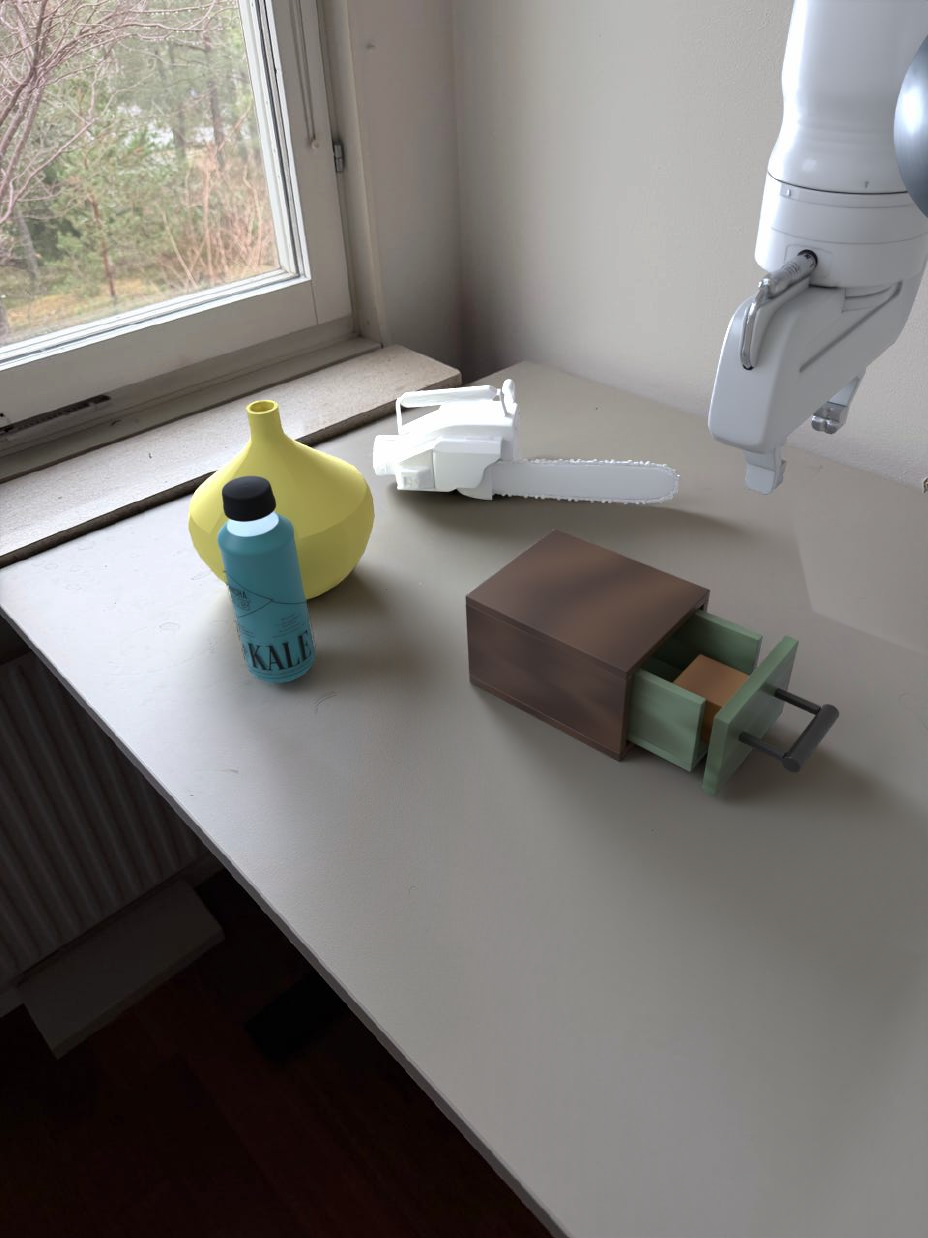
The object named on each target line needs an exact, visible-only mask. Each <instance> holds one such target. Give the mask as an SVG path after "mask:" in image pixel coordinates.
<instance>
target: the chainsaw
mask: <svg viewBox="0 0 928 1238" xmlns="http://www.w3.org/2000/svg"><path fill="white" fill-rule="evenodd" d="M503 394H504V395H503ZM497 396H498V398H499V400H494V399H495V398H496V397H497ZM401 406H402V407H404V408H417V407H428V406H429V407H431V406H440V407H439V409H438V410H435V411H433V412H431V413H428V414H425V415H423V416H422V417H419V418H417V419H415V420H412V421H410V422H408V423H406V424H404V425H403V423H402V412H401V411H402V410H401ZM395 412H396V421H397V432H398V435H381V434H379V435H377V436H376V437H375V440H374V444H373V449H372V463H373V470H374V474H375V475H376V476H384V477H385V476H395V481H396V483H397V486H396V490H398V491H419V492H420V491H422V492H446V493H450V492H452V491H454V490H457V491H458V493H460V494H462V495H463V496H465V497H469V498H472V499H477V500H478V499H479V500H485V501H493V496H495V494H497V495H501V496H502V497H505V496H506V495H507V497H512V496H515V497H516V496H519V497H523V498H524V499H528V497H530V498H534V499H536V500H537V499H539V498H540V499H541V500H546V499H556V501H561V500H567V501H568V502H572V500H574V502H579V501H587V502H588V501H590V503H595V501H596V502H601V503H602V504H605V503H606V502H608V503H607V504H613V503H623V504H624V505H628V504H629V503H631V504H635V505H640V503H642V505H647V504H651V503H659V504H663V503H664V501H667V500H669V499H670V500H672V499H673V498H674V495H677V494H678V493H679V490H678V489H679V485H680V481H679V480H680V479H681V476H680V474H677V470H676V469H673V468H671V467H668V464H667V463H663V464H661V463H658V464H657V463H653V462H652V463H651V461H649V460H647V461H646V462H644V461H643V460H639V461H634V462H633V460H632V459H628V461H620V460H617V461H616V459H611V461H609V459H605V460H599V461H598V459H597V458H594V459H592V460H581V458H577V459H576V460H574V458H570V460H568V459H567V460H566V459H565V460H563V458H558V460H557V459H554V460H551V459H547V458H542V460H540V458H535V459H531V460H529V458H524V459H523V460H522V459H521V460H520V422H521V412H520V406H519V404H518V403H516V384H515V381H514V380H513V379H506V380H505V381H504V382H503V385H502V389H501V388H496V387H495V386H493V385H491V384H490V385H488V384H487V385H478V386H474V385H471V386H465V387H456V388H455V387H453V388H442V389H431V390H419V391H409V392H407V391H406V392H405V393H404V394H403V395H402V396H401V397H398V398H397V400H396V401H395Z"/></svg>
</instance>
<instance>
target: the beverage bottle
mask: <svg viewBox="0 0 928 1238" xmlns="http://www.w3.org/2000/svg"><path fill="white" fill-rule="evenodd" d="M222 498H223V509H224V513H225V515H226V516H227V517H228V518H229V520H228V521H227V522H226V523H225V524H224V525H223V527H222V528H221V529H220V531H219V533H218V536H217V542H218V546H219V548H220V551H221V555H222V559H223V564H224V569H225V571H223V572H225V574H226V578H227V582H228V584H227V583H226V584H225V585H226V587H227V591H228V592H229V593H228V596H230V597H229V599H230V602H231V604H232V606H233V607H231V608H232V610H233V612H234V615H235V626H236V631H237V633H239V634H237V636H238V639H239V641H241V646H240V649H241V651H242V657H243V660H245V667H246V668H247V670H248V671H249V672H250V673H251V675H252V676H253V677H255V678H256V679H258V680H260V681H261V682H265V683H271V684H274V683H275V684H281V683H286V682H287V683H288V682H291V681H294V680H296V679H298V678H300V677H303V675H304V674H306V673H308V672H309V671H310V669H311V668H312V666H313V664H314V662H315V659H316V652H318V651H317V649H316V647H317V645H316V644H315V643H316V640H315V639H314V638H315V632H314V629H313V624H311V622H312V616H311V611H310V608H309V607H308V602H309V599H307V600H306V598H305V595H304V589H303V584H302V578H301V572H300V567H299V561H298V555H297V550H296V544H295V538H294V528H293V525H292V524H291V522H290V521H289V520H288V519H287V518H285V517H284V516H282V515H280V514H278V513H276V512H273V511H274V510H275V508H276V500H275V497H274V495H273V491H272V488H271V485H270V483H269V481H268V480H267V479H265V478H263V477H259V476H244V477H239V478H236V479H233V480H231V481H229V482H228V483H227V484H225V485H224V487H223V489H222ZM224 578H225V577H224ZM225 582H226V580H225Z"/></svg>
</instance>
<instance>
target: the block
mask: <svg viewBox="0 0 928 1238" xmlns="http://www.w3.org/2000/svg"><path fill="white" fill-rule="evenodd" d="M748 677H749V675H747V674H745V673H742V672H740V671H738V670H736V669H733V668H731V667H729V666H727V665H724V664H722V663H720V662H717V661H715V660H713V659H711V658H708V657H706V656H704V655H701V654H699V655H698V656H697V658H696V659H695V660H694V661H693V662H692V663H691V664H690V665H689V666H688V667H687V668H686V669H685V670H684V671H683V672H682V673H681V674H680V675H679V676H678V678H677V679H676V680H675V681H674V682H673V684H675V685H677V686H679V687H681V688H683V689H686V690H688V691H690V692H692V693H694V694H696V695H698V696H701V697H703V698H705V699H706V703H705V709H704V715H703V721H702V728H701V734H700V740H701V741H703V742H705V743H707V744H710V739H711V733H712V727H713V721H714V717H715V716H716V714H717V713H718V712H719V711H720V710H721V709H722V707H723V706H724V705H725V704H726V703H727V702H728V701H729V699H730V698H731V697H732V696H733V695H734V694H735V692H736V691H737V690H738V689H739V688H740V687H741V686H742V684H743V683H744V682H745V681H746V680H747V679H748Z"/></svg>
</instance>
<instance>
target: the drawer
mask: <svg viewBox="0 0 928 1238" xmlns="http://www.w3.org/2000/svg"><path fill="white" fill-rule="evenodd" d="M763 638H764V635H762V634H761V633H757V632H755V631H753V630H751V629H748V628H746V627H743V626H741V625H739V624H736V623H734V622H732V621H729V620H726V619H724V618H721V617H719V616H717V615H714V614H712V613H709V612H708V611H707V612H705V611H702V610H700V609H698V610H697V611H696V612H694V613H693V614H692V615H691V616H690V617H689V618H688V619H687V620H686V621H685V622H684V623H683V624H682V625H681V626H680V627H679V628H678V629H677V630H676V631H675V632H674V633H673V634H672V635H671V636H670V637H669V638H668V639H667V640H666V641H665V642H664V643H663V644H662V645H661V646H660V647H659V648H658V649H657V650H656V651H655V652H654V653H653V654H652V655H651V656H650V657H649V658H648V659H647V660H646V661H645V662H644V663H643V664H642V665H641V666H640V667H639V668H638V669H637V670H636V671H635V672H634V673H633V674H632V685H631V696H630V706H629V717H628V727H627V737H626V739H627V740H629V741H631V742H633V743H635V745H637V746H638V747H641V748H643V749H645V750H647V751H649V752H650V753H652V754H654V755H656V756H658V757H660V758H662V759H664V760H666V761H668V762H670V763H672V764H674V765H675V766H678V767H680V768H681V769H684V770H685V771H687V772H689V773H691V772H692V771H693V770H694V769H695V767H697V765H698V764H699V763H700V761H702V759H703V758H704V757H705V756H706V754H707V756H706V762H705V768H704V773H703V778H702V779H703V780H702V785H701V791H702V792H705V793H707V794H708V795H711V796H712V797H715V798H716V797H717V795H718V794H719V793H720V791H722V789H723V788H724V787H725V785H726V784H727V782H728V781H730V779H731V778H732V776H733V775H734V774H735V773H736V771H737V770H738V769H739V768H740V766H741V765H742V764H743V763H744V761H745V760H746V759H747V758H748V756H749V755H750V754H751V753H752V751H753V750H754V749H755V750H757V751H759V752H761V753H763V754H765V755H767V756H770V757H772V758H774V759H776V760H778V761H780V762H781V764H782V766H783V768H784V769H785V770H786V771H788V772H790V773H794V774H795V773H798V772H800V771H801V769H802V768H803V767H804V765H805V764H806V762H808V760H809V758H810V757H811V756H812V754H813V753H814V751H815V750H816V749H817V748H818V746H819V744H821V741H822V740H823V739H824V737H825V736H826V735H827V733H828V732H829V731H830V729H831V728H832V727H833V725H834V724H835V723H836V722H837V720H838V718H840V711H839V710H838V708H837V707H836V706H835V705H833V704H830V703H826V704H823V705H822V706H821V705H819V704H816V703H814V702H811V701H810V700H807V699H805V698H803V697H801V696H798V695H796V694H794V693H791V692H790V691H788V689H789V685H790V681H791V677H792V674H793V673H792V672H793V669H794V664H795V660H796V655H797V651H798V647H799V643H800V641H799V640H798V639H796V638H793V637H791V636H789V635H784V636H782V638H781V639H780V641H778V643H777V644H776V645H775V646H774V648H773V649H772V650H771V651H769V653H768V654H767V655H766V657H765V658H764V659H763V660H762V661H761V662H760V664H758V663H759V657H760V654H761V653H760V652H761V648H762V642H763ZM699 654H701V655H704V656H706V657H708V658H711V659H713V660H715V661H717V662H720V663H722V664H724V665H727V666H729V667H731V668H733V669H736V670H738V671H740V672H742V673H745V674H747V675H749V677H748V679H747V680H746V681H745V682H744V683H743V684H742V686H741V687H740V688H739V689H738V690H737V691H736V692H735V694H734V695H733V696H732V697H731V698H730V699H729V701H728V702H727V703H726V704H725V705H724V706H723V707H722V709H721V710H720V711H719V712H718V713H717V714H716V716H715V717H714V721H713V727H712V733H711V739H710V744H707V743H705V742H703V741H701V740H700V734H701V728H702V721H703V715H704V709H705V703H706V699H705V698H703V697H701V696H698V695H696V694H694V693H692V692H690V691H688V690H686V689H683V688H681V687H679V686H677V685H675V684H673V682H674V681H675V680H676V679H677V678H678V676H679V675H680V674H681V673H682V672H683V671H684V670H685V669H686V668H687V667H688V666H689V665H690V664H691V663H692V662H693V661H694V660H695V659H696V658H697V656H698V655H699ZM785 703H787V704H790V705H792V706H794V707H796V708H799V709H801V710H803V711H805V712H807V713H810V714H812V715H814V717H813V718H811V721H809V723H808V724H807V726H806V727H805V728H804V729H803V731H802V732H801V733H800V735H799V736H798V738H797V739H796V740H795V742H794V743H793V744H792V746H791V747H790V748H789V750H788V751H786V750H785V749H782V748H780V747H778V746H776V745H773V744H772V743H769V742H768V741H765V740H763V738H764V736H765V735H766V734H767V733H768V731H769V730H770V728H771V727H772V726H774V724H775V722H776V721H777V720H778V718H779V717H780V716H782V713H783V711H784V707H785Z"/></svg>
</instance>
